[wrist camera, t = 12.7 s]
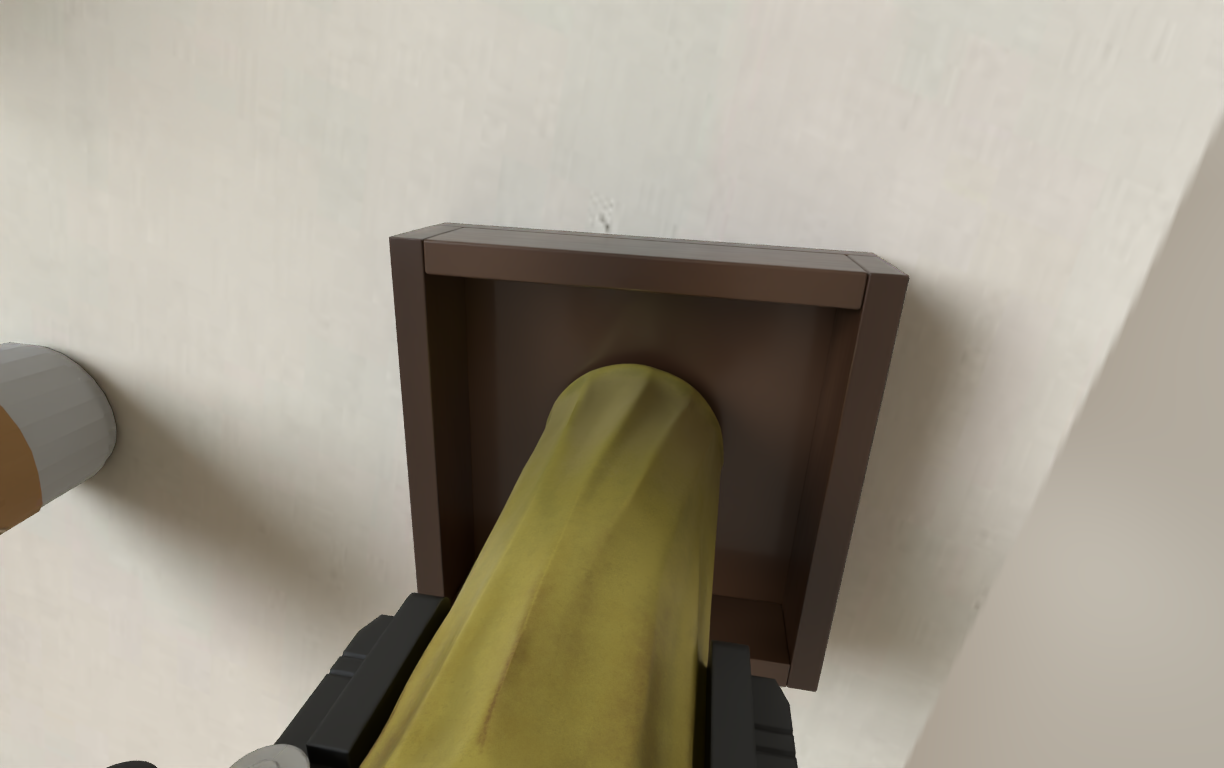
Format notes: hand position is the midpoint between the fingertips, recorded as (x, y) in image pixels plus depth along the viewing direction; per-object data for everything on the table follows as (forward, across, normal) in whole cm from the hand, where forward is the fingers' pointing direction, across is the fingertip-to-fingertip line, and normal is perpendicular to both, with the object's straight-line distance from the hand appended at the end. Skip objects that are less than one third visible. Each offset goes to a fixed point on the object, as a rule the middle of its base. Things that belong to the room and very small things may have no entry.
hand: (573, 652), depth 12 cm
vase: (+10, 0, 0) cm, 10 cm away
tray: (+11, 0, 0) cm, 11 cm away
